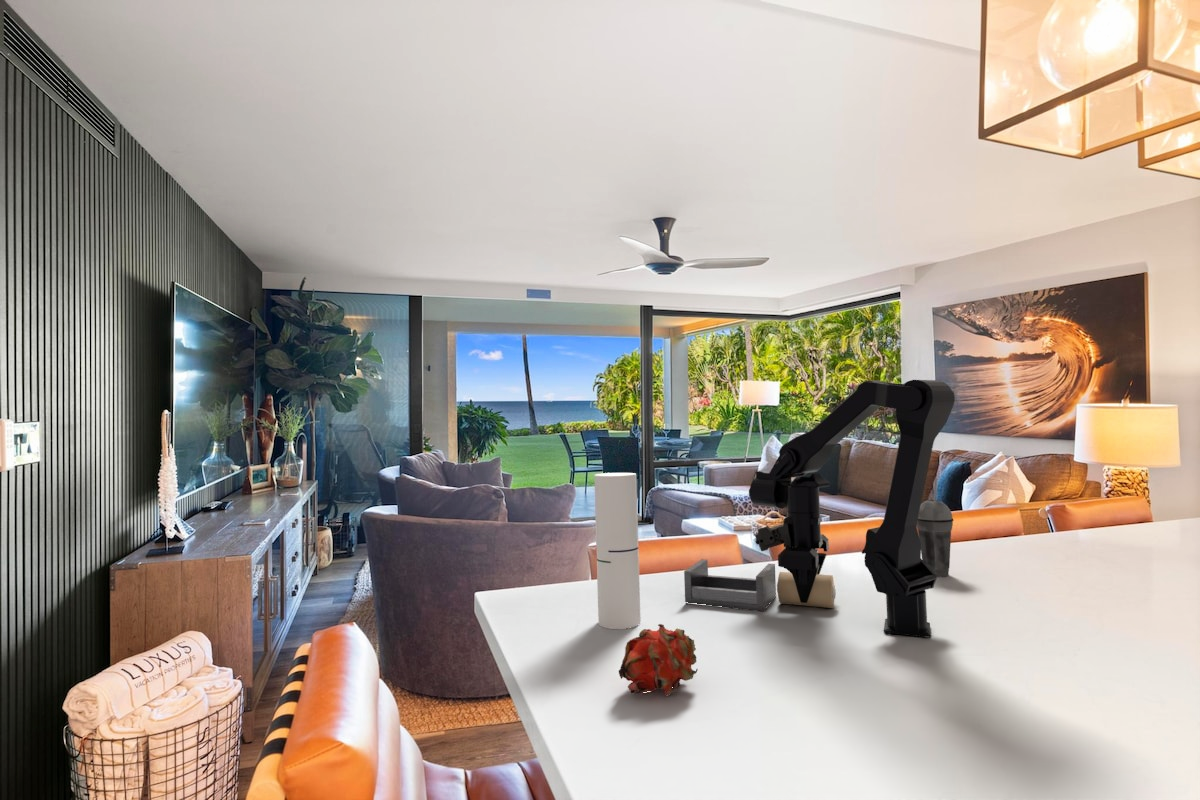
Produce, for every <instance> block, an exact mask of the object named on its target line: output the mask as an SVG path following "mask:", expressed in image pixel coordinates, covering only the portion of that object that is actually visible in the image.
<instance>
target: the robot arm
mask: <svg viewBox="0 0 1200 800" xmlns="http://www.w3.org/2000/svg"><path fill="white" fill-rule="evenodd" d="M955 399H956V396H955V392H954V391H953V389H952V388H951V387H950V386H949V385H948V384H947V383H945V382H944V381H941V380H940V379H939V380H938V379H937V380H936V379H935V380H934V379H911V380H908V381H906V382H905V383H896V382H886V381H884V380H864V381H863V382H861V383H860V384H859V385H858V386H857V388H856V389H855V390H854V391H853V392H852V393H851V394H850V395H849V396H848V397H847V398H845V400H843V402H841V403H840V404H839V405H837V407H836V408H835V409H833V410H832V411H831V412H830V413H829V414H828V415H827V416H826V417H824V419H823V420H821V421H820V422H819V423H818V424H817V425H816V426H815V427H814V428H812V429H811V430H809V431H807V432H805V433H803V434H799V435H797V436H795V437H794V438H791V439H790V440H789V441H787V442H785V443H784V444H783V445H782V446H781V447H780V448H779V450H778V453H779V456H778V457H777V459H776V461H775V462H774V464H773V466H772V468H771V470H770V471H769V470H758V471H757V470H756V472H755V478H754V479H753V480H752V481H751V484H750V486H749V487H750V488H749V489H748V495H749V499H750V501H751V503H752V504H753V505H755V507H756V506H757V507H765V508H774V509H784V508H786V516H785V518H784V519H783V521H782V524H778V525H775V526H772V527H770V526H768V525H766V526H763V527H760V528H758V532H757V533H755V534H754V536H755V543H756V545H758V546H759V550H760V551H761V552H765V551H768V549H771V548H773V547H777V546H780V545H783V547H784V548H783V550H782V551H781V552H780V553H778V554H777V564H778V565H777V566H778V567H780V568H784V569H785V570H787V572H791V573H792V575H793V578H794V581H795V584H796V588H797V591H798V595H799V598H800V602H802V603H807V602H808V599H809V596H810V593H811V590H812V587H813V584H814V581H815V578H816V575H817V574H820V575H821V571H822V568H823V566H824V563H825V560H826V558H827V553H822V552H819V549H822V550H823V552H828V551H829V550H830V547H829V546H830V542H829V539H828V538H827V536H826V535H825V534H822V532H821V530H822V529H821V523H822V521H823V519H822V518H823V517H822V515H821V511H820V509H821V507H820V506H821V505H820V504H821V502H820V488H826V487H827V488H828V487H830V485H831V483H830V482H829V480H827V479H826V478H825V477H823V476H822V474H821V473H820V472H819V470H821V469H822V467H824V465H825V464H826V463H827V462H828V460H829V459H830V457H831V455H832V452H833V449H834V448H835V447H836V445H837V444H839V442H841V441H842V440H843V439H844V438H846V437H847V436H848V435H849V434H850V433H852V432H853V431H854V430H855V429H856V428H857V427H859V426H860V425H861V424H862V423H863V422H864V421H865V420H867V419H868V418H869V417H870V416H871V415H873V414H874V413H875V412H877V410H878V409H879V408H881V407H884V408H890V409H895V420H896V424H897V427H898V431H899V433H900V434H899V441H898V447H897V452H896V457H895V461H894V467H893V472H892V477H891V482H890V487H889V492H888V497H887V502H886V505H885V506H886V507H885V512H884V517H883V520H882V523H881V524H880V525H879V526H877V527H873V528H869V529H867V531H866V534H865V543H864V544H865V545H864V547H863V549H862V551H861V554H862V555H863V554H865V555H864V566H865V567H866V568H867V570H868V571H869V574H870V576H871V578H872V581H873V583H874V586H875V589H876V592H878V593H882V594H884V595H885V602H886V618H885V619H884V626H883V633H884V634H885V633H886V634H891V635H892V634H893V635H903V636H904V635H905V636H915V637H923V638H931V636H932V635H931V623H930V622H928V614H927V613H928V612H927V610H928V609H927V591H926V590H929V589H933V588H934V587H935V585H936V582H937V578H938V577H937V576H936V575H935V574H934V572H933V571H932V570H931V569H930V568H929V567H928V566H927V565H926V564H925V562H924V561H923V560H922V554H921V542H920V539H919V532H918V528H917V520H918V515H919V510H920V506H921V504H922V500H923V495H924V490H925V485H926V481H927V477H928V471H929V466H930V461H931V457H932V451H933V447H934V443H935V440H936V438H937V436H939V434H940V432H941V431H942V430H943V428H944V426H946V425H947V422H948V420H949V417H950V415H951V412H952V411H953V407H954V405H955ZM816 472H819V473H816ZM808 473H809V474H810V473H812V474H811V475H810V476H806V475H807V474H808ZM792 478H794V479H793V480H792Z"/></svg>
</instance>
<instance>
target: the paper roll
mask: <svg viewBox="0 0 1200 800" xmlns="http://www.w3.org/2000/svg"><path fill="white" fill-rule="evenodd" d="M836 591H837V589H836V584H835V581H834V576H833V575H831V574H830V575H829V574H821V573H820V574H817V575H816V578H815V581H814V584H813V587H812V590H811V593H810V596H809V599H808V602H807V603H802V602H800V598H799V595H798V591H797V588H796V584H795V581H794V578H793V575H792V573H791V572H789V571H779V572H778V578H777V583H776V593H777V599H778V603H779V604H781V603H782V605H792V604H793V605H795V606H805V607H814V608H815V607H816V608H827V609H833V608H834V606H835V600H836V594H837V593H836Z"/></svg>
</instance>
